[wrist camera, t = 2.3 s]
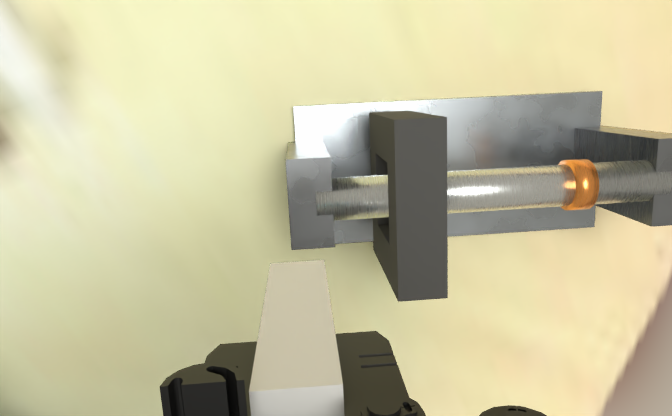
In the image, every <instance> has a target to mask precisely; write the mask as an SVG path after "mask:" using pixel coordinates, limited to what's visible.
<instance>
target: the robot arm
mask: <svg viewBox="0 0 672 416" xmlns="http://www.w3.org/2000/svg"><path fill="white" fill-rule="evenodd" d="M160 393H161V400H162V408H163V416H426V415H425V413H424V411H423V409H422V408H421V407H420V405H419V404H418V403H417V402H416V401H414V400H412V399H411V398H409V396H408V393H407V390H406V387H405V385H404V382H403V379H402V376H401V374H400V371H399V368H398V365H397V362H396V360H395V357H394V355H393V351H392V348H391V346H390V343H389V341H388V340H387V339H386V338H385V337H383V336H382V335H381V334H379V333H378V332H377V331H370V332H356V333H343V334H335V328H334V321H333V314H332V308H331V301H330V295H329V288H328V281H327V275H326V268H325V261H324V260H313V261H297V262H282V263H270V268H269V274H268V280H267V286H266V292H265V298H264V304H263V310H262V316H261V322H260V328H259V334H258V340H257V342H244V343H230V344H220V345H219V346H218V347H217V348H216V349H214V350H213V351H212V352H211V353H210V354H209V355H208V356H207V358H206V361H205V363H204V364H198V365H193V366H190V367H187V368H184V369H182V370H179V371H177V372H176V373H174V374H172V375H171V376H169V377H168V378H166V380H165V381H164V382H163V383H162V384H161V386H160ZM479 416H546V415H545V414H543V413H541V412H538V411H535V410H532V409H529V408H526V407H521V406H500V407H493V408H491V409H489V410H486V411H484V412H482V413H481V414H480V415H479Z"/></svg>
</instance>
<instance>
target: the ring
mask: <svg viewBox="0 0 672 416" xmlns="http://www.w3.org/2000/svg"><path fill="white" fill-rule="evenodd" d="M369 127H370V157H371V176H373V175H388V206H389V217H383V218H373V248H374V252H375V254H376V256H377V258H378V260H379V262H380V264H381V266H382V268H383V270H384V273H385V275H386V277H387V279H388V281H389V283H390V285H391V287H392V289H393V291H394V293H395V296H396V298H397V300H398V301H412V300H426V299H440V298H447V117H444V116H438V115H432V114H426V113H420V112H414V111H389V112H369Z"/></svg>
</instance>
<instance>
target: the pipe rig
mask: <svg viewBox="0 0 672 416" xmlns="http://www.w3.org/2000/svg"><path fill="white" fill-rule="evenodd" d="M601 105H602V91H591V92H571V93H550V94H530V95H510V96H490V97H470V98H450V99H430V100H409V101H389V102H369V103H349V104H329V105H309V106H293V109H294V125H295V141H296V142H289V143H288V149H287V154H286V174H287V189H288V204H289V219H290V233H291V248H292V250H298V249H313V248H328V247H335V244H339V243H355V242H370V241H373V218H383V217H389V206H388V175H373V176H371V157H370V127H369V112H389V111H414V112H420V113H426V114H432V115H438V116H444V117H447V236H463V235H478V234H494V233H509V232H524V231H540V230H555V229H571V228H586V227H594V223H595V206H599V207H602V208H604V209H607V210H610V211H612V212H615V213H617V214H620V215H623V216H625V217H628V218H631V219H633V220H636V221H638V222H641V223H644V224H646V225H649V226H666V225H672V133H663V132H654V131H645V130H636V129H627V128H618V127H609V126H600V122H601Z"/></svg>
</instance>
